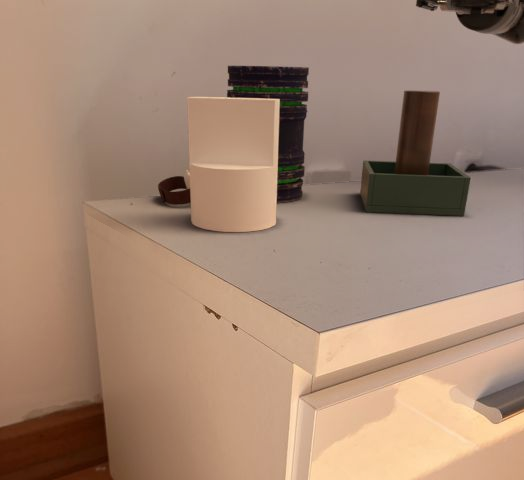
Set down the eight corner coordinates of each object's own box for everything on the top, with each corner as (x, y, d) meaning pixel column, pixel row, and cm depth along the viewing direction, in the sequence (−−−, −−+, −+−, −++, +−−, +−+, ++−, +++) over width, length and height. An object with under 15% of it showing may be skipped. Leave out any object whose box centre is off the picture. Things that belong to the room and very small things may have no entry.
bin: (445, 197, 75) (450, 163, 73) (464, 216, 65) (470, 177, 63) (360, 193, 76) (363, 160, 74) (365, 212, 66) (369, 173, 64)
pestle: (421, 195, 72) (436, 91, 67) (427, 201, 68) (442, 92, 63) (390, 193, 72) (402, 90, 67) (393, 200, 69) (406, 91, 63)
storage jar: (242, 186, 79) (243, 66, 73) (311, 191, 77) (318, 68, 70) (215, 199, 71) (213, 65, 64) (291, 205, 68) (297, 66, 62)
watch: (209, 206, 67) (208, 174, 65) (170, 209, 65) (169, 176, 64) (186, 194, 73) (185, 165, 72) (151, 197, 71) (149, 166, 70)
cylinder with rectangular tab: (181, 229, 57) (176, 98, 52) (202, 210, 65) (199, 95, 60) (270, 234, 56) (274, 101, 51) (280, 214, 64) (284, 97, 59)
